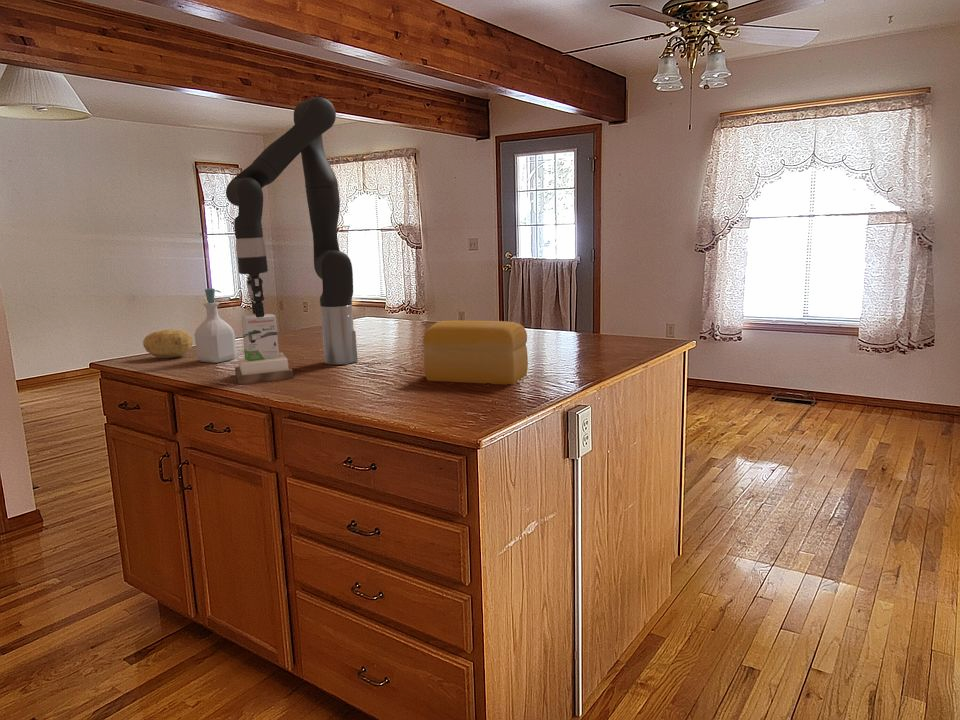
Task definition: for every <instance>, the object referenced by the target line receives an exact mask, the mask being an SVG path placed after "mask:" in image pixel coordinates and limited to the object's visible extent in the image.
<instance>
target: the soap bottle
mask: <svg viewBox="0 0 960 720" xmlns="http://www.w3.org/2000/svg"><path fill="white" fill-rule="evenodd" d="M204 292H205V296H206V299H207V301H208V302H204V303H203V306H205V309H206V317H205V319H204V320H203V321H202V322H201V323H200V324H199V326H198V327H197V328H196V330H195V332H194V341H195V342H194V343H195V350H196V358H197V359H198V360H199V362H203V363H209V364H211V363H212V364H217V363H222V362H228V361H232V360H234V359H236V357H237V355H238V354H237V343H236V335H235V331H234V329H233V328H232V326H231V325H230V324H229V323H227V322H226V321H225V320H224V319H223V318H221V317H220V315H219V312H218V310H219V309H218V306H219V305H220V302H219V301H217V302H216V301H214V300H215V295H216V294H215V292H218V293H221V292H222V291H220V290H217V289H216V290H215V288H205V289H204Z"/></svg>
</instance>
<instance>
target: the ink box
mask: <svg viewBox="0 0 960 720" xmlns="http://www.w3.org/2000/svg"><path fill="white" fill-rule="evenodd" d="M277 323H278V322H277V316H276V315H275V314H273V313H264V317H256V315H255V314H250V315H249V314H247V315H242V316H241V328H242V338H243V339H242V341H243V352H244V356H245V359H247V360H249V361H251V360H260V359H270V358H279V353H280V351H279V350H280V349H279V348H280V347H279V337H278V336H279V335H278V324H277Z"/></svg>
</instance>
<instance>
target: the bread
mask: <svg viewBox="0 0 960 720" xmlns="http://www.w3.org/2000/svg"><path fill="white" fill-rule="evenodd" d="M527 332H528V331H527V330H526V328H525V327H524V326H523V325H522V324H520V323H517V322H515V321H507V320H506V321H504V320H459V319H458V320H457V319H456V320H441V321H438V322H435V323H434V324H432V325H431V326H430V327H429V328H428V329H427V330H425V332H424V335H423V340H422V341H423V347H424V358H423V360H424V361H423V363H424V374H425V378H426V380H427V381H431V382H451V383H467V382H468V384H469V383H470V384H471V383H472V384H486V383H491V384H490V385H507V384H511V385H514V384H513V383H515V384H517V383H518V382H519V381H521V380H522V379H524V378H525V377H526V376H527V374H528V367H529V366H528V365H529V360H528V348H527V345H526V344H527V341H528V333H527ZM524 376H525V377H524ZM523 377H524V378H523ZM521 378H522V379H521ZM520 379H521V380H520ZM518 380H519V381H518ZM517 381H518V382H517ZM516 382H517V383H516Z"/></svg>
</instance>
